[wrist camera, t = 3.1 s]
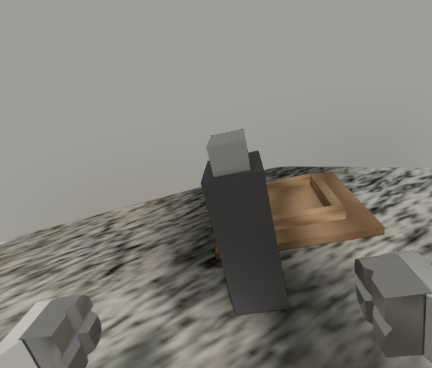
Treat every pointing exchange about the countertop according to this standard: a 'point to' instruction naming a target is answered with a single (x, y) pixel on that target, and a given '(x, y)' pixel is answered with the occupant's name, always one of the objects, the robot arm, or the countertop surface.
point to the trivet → (316, 212)
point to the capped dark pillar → (243, 224)
